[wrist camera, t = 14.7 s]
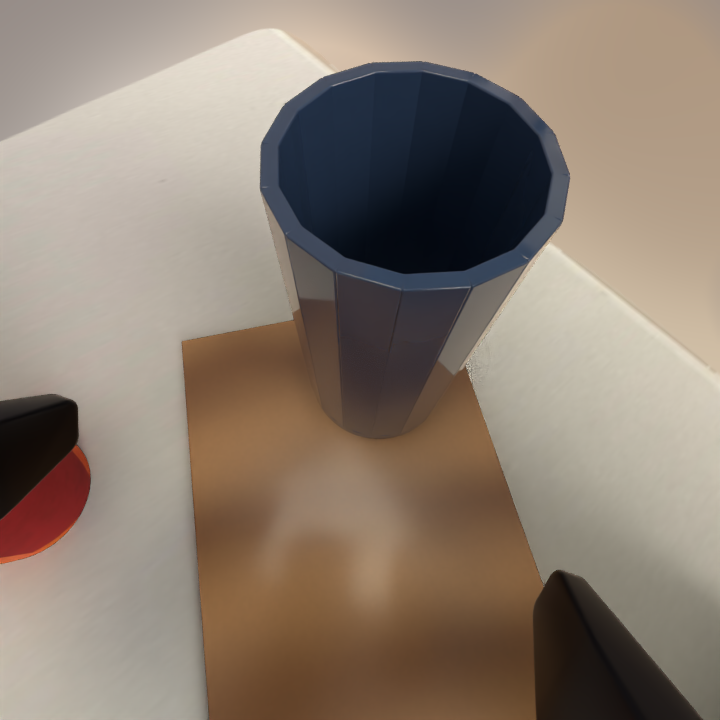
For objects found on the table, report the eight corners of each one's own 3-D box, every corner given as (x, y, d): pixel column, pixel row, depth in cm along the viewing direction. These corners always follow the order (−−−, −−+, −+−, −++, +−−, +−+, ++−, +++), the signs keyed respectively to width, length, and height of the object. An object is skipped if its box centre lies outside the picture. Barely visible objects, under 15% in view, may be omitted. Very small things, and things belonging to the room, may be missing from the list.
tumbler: (467, 402, 20) (635, 214, 8) (347, 463, 19) (344, 344, 7) (402, 298, 23) (461, 33, 11) (291, 347, 21) (215, 108, 9)
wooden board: (590, 734, 16) (599, 741, 15) (224, 854, 14) (218, 866, 14) (437, 297, 23) (439, 291, 23) (185, 345, 22) (181, 341, 21)
